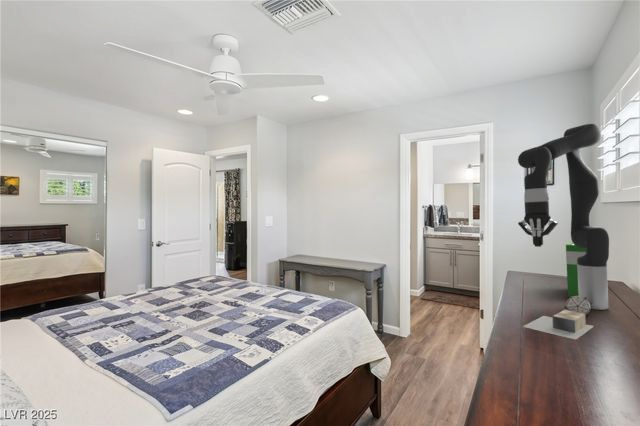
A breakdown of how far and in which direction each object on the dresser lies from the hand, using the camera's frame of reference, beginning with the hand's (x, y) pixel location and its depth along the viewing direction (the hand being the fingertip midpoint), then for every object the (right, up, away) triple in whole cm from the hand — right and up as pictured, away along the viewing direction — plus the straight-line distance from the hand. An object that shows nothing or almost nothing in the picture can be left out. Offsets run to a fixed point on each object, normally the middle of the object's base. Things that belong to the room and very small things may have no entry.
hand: (538, 246), depth 118 cm
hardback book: (+42, -26, +31) cm, 59 cm away
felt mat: (-1, -27, -10) cm, 29 cm away
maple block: (-2, -25, -14) cm, 28 cm away
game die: (+15, -27, 0) cm, 31 cm away
